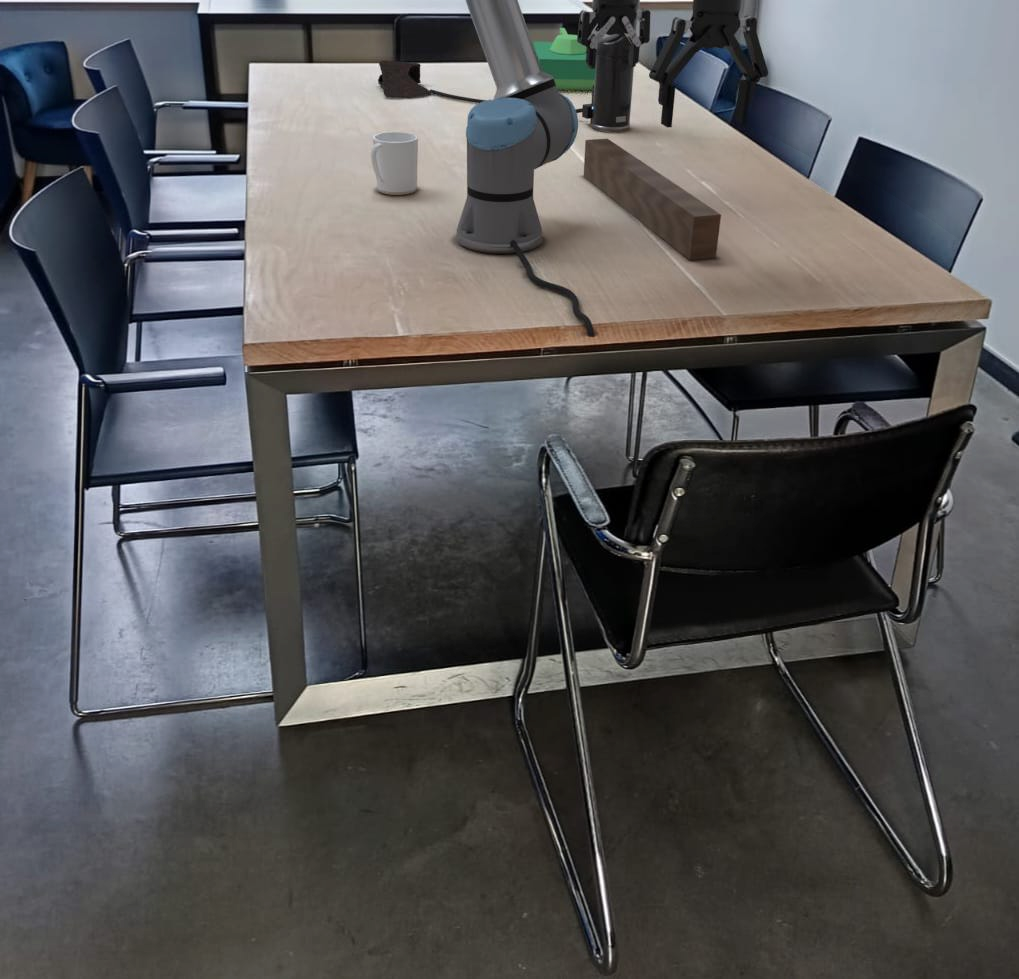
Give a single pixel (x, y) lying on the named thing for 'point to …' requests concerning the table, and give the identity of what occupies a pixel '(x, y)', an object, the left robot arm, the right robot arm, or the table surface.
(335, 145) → the table surface
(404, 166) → the mug
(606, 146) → the beam
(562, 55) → the toy tank
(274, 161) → the table surface
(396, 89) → the axe head
